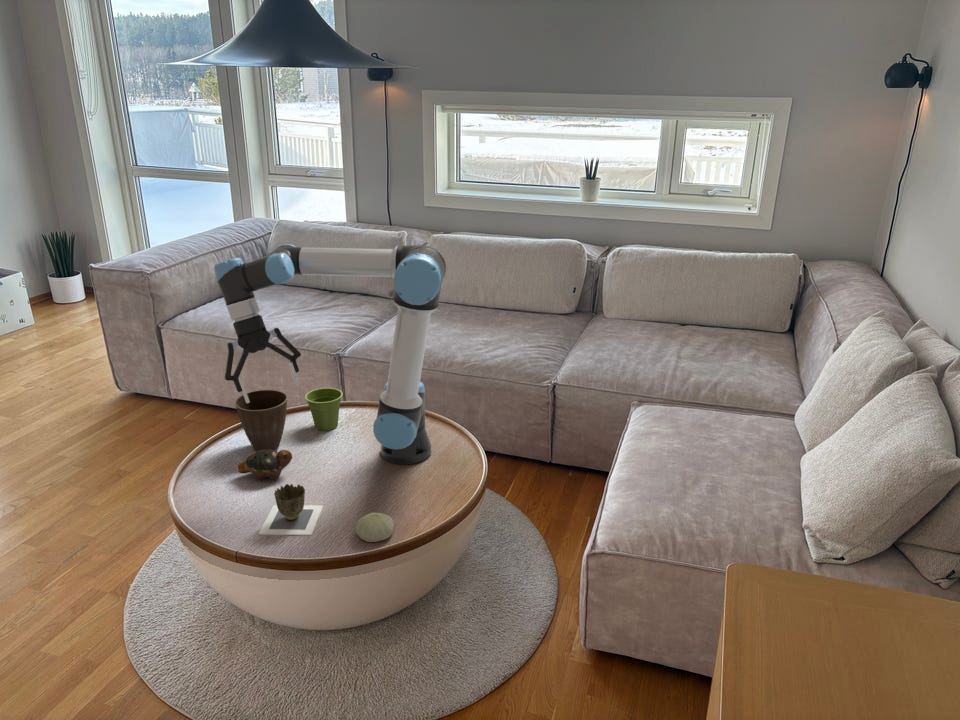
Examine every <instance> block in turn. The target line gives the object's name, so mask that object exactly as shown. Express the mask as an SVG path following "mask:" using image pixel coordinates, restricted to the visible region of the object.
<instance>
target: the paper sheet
mask: <svg viewBox="0 0 960 720" xmlns="http://www.w3.org/2000/svg"><path fill="white" fill-rule="evenodd" d="M323 508H324V505H313V504H312V505H311V504H310V505H305V504H304V507H303V510H302V511H301V512H300V513H299V518H298V519H297V520H295V521H287V520H286V519H285V517H284V515H282V514H281V513H280V512H279V510H278V507H277V504H273V506H272V508H271V509H270V511H269V513H268V515H267V517H266V519H265V520H264V522H263V524H262V527H261V528H260V530H259V532H258V535H259V536H261V535H264V536H312V535H313V533H314V530H315V528H316V526H317V523H318V521H319V518H320V515H321V513H322V510H323Z"/></svg>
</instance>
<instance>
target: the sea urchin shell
mask: <svg viewBox="0 0 960 720" xmlns="http://www.w3.org/2000/svg"><path fill="white" fill-rule="evenodd" d="M394 527H395V524H394V520H393V519H392V517H390V516H389V515H387V514H386V513H385V514H384V513H382V512H370V513H367V514H365V515H363V516H362V517H361V518H360V519H359V520H357V521H356V523H355V529H354V530H355V532H356V534H357V536H358V537H359V538H360V539H361V540H363V541H365V542H366V543H373V542H374V543H375V542H376V543H377V542H381V541H384V540H387V539H389V538H390V537H391V536H392V534H393V533H394V529H395V528H394Z"/></svg>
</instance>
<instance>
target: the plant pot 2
mask: <svg viewBox="0 0 960 720" xmlns="http://www.w3.org/2000/svg"><path fill="white" fill-rule="evenodd" d="M343 393H344V392H343V391H342V390H341V389H337V388H334V387H321V388H316V389H315V388H314V389H312V390H310V391H308V392H306V394H305V395H304V398H305V401H307V404H308V405H307V406H308V407H309V409H310V413H311V416H312V420H313V424H314V427H315V429H317V430H318V431H322V432H323V431H324V432H328V431H331V430H334V429H336V428H337V427H338V425H339V415H340V405H341V401H342V397H343Z"/></svg>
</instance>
